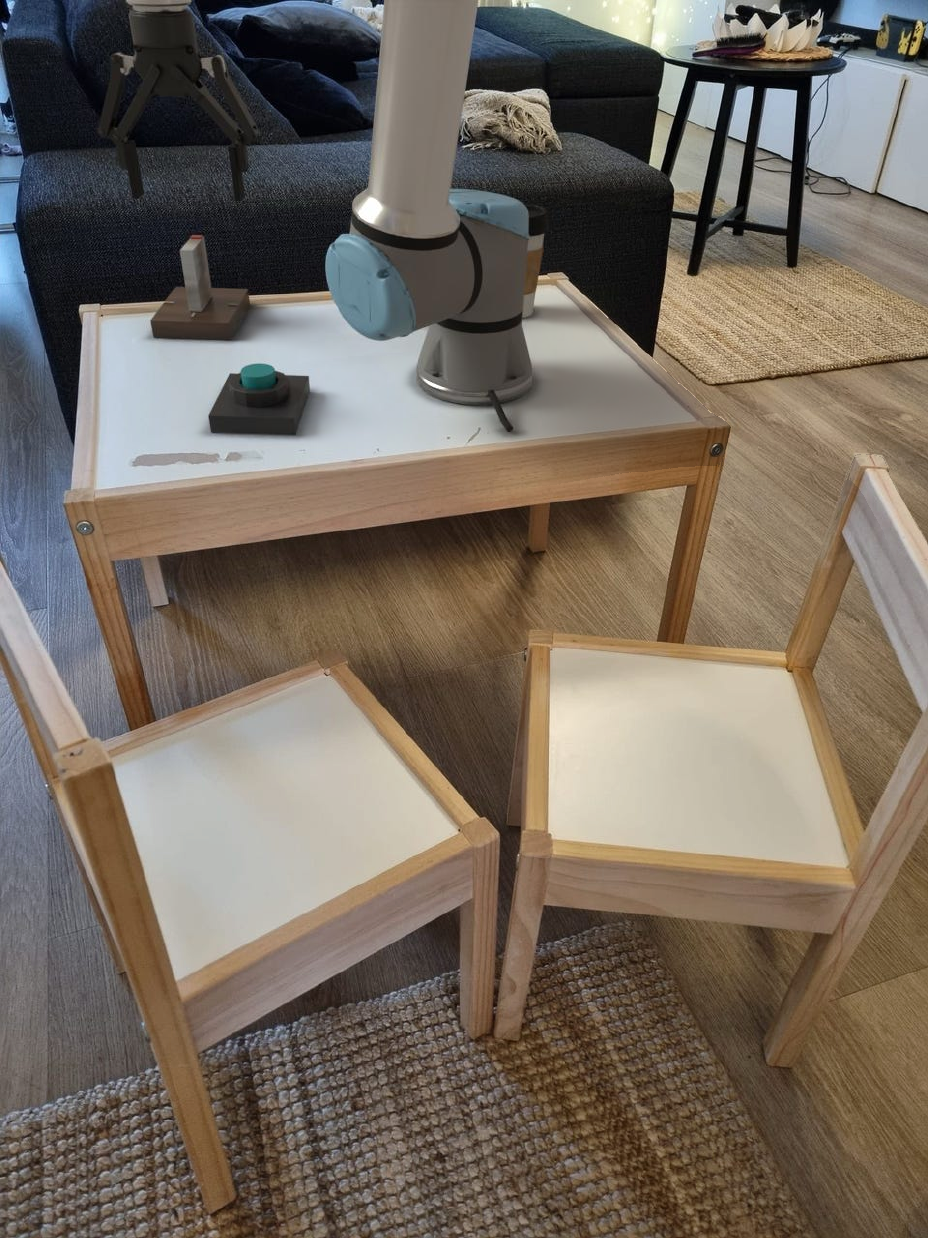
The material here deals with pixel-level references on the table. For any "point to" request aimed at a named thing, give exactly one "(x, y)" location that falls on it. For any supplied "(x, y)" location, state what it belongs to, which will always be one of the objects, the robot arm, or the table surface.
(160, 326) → the panel
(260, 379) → the button
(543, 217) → the coffee cup
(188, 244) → the grey flat upright block
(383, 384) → the table surface
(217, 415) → the button block
